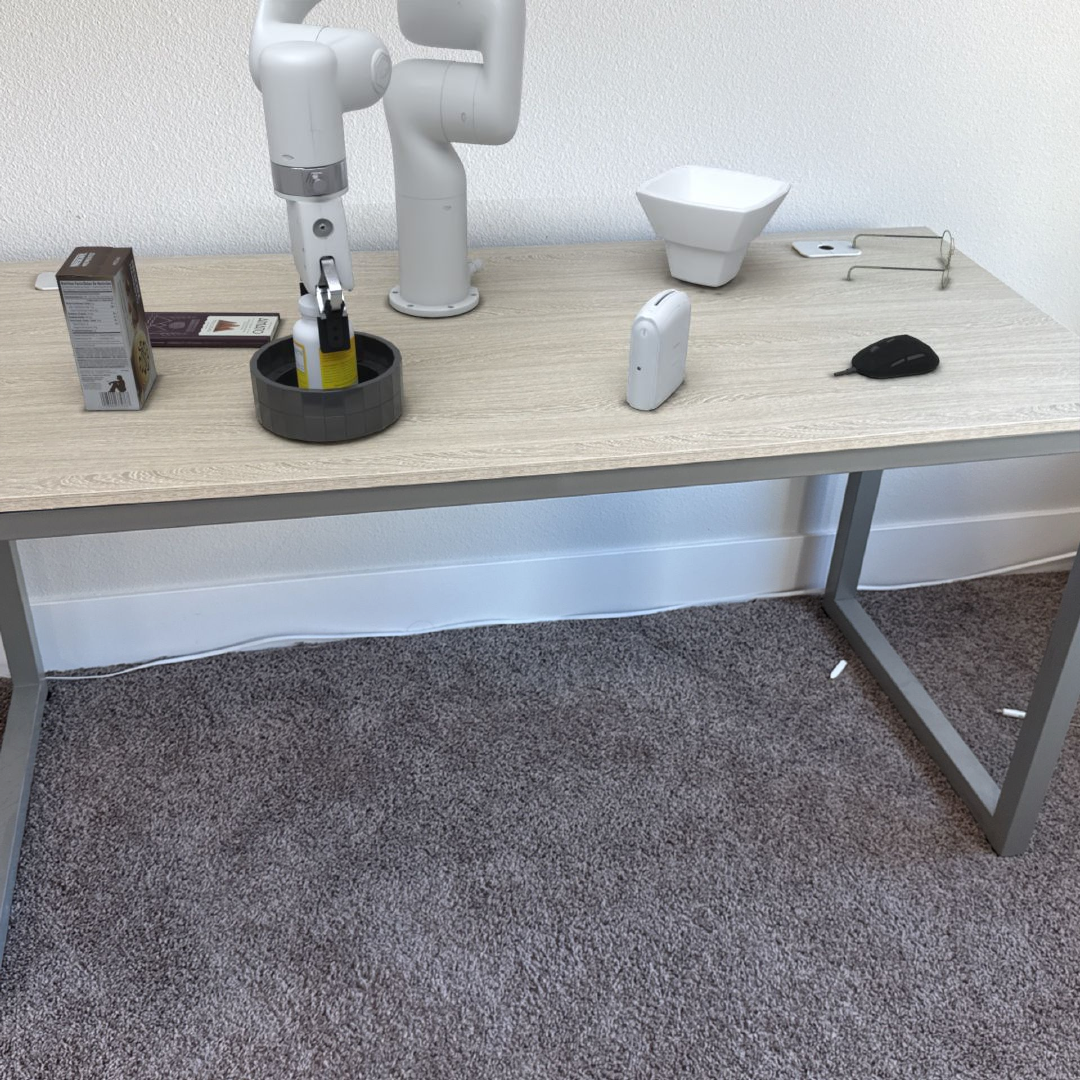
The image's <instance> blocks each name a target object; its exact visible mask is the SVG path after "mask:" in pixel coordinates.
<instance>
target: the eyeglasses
mask: <svg viewBox="0 0 1080 1080" xmlns="http://www.w3.org/2000/svg"><path fill="white" fill-rule="evenodd" d="M946 233H948V234H949V237H950V244H949V251H948V253H946V255H947V257H946V259H945V260H944V257H943V253H942V251H943V241H944V237H945V234H946ZM859 237H874V238H875V237H880V238H881V237H882V238H910V239H911V238H913V239H940V240H941V241H940V247H939V248H940V249H939V252H940V253H939V254H940V258H941V261H942V262H943V264H944V266H943V268H924V267H923V268H921V267H896V266H894V267H893V266H879V265H852V266H851V267H850V268H849V269H848V271H847V275H846V280H847V281H851V272H852V270H855V269H868V270H871V269H873V270H895V271H896V270H897V271H921V272H923V271H924V272H942V275H941V283H940V284H941V288H945V287H947V284H948V281H949V274H950V265H951V260H952V259H951V258H952V256H953V255H955V253H954V252H955V246H953V248H952V245H955V238H954V237H952V234H951V231H949V230H948V229H946V230H944V231H943V233H942V236H940V235H939V236H937V235H936V236H935V235H934V236H933V235H932V236H931V235H909V234H908V235H905V234H904V235H903V234H883V233H858V234H857V235H855V236H854V238H853V240H852V248H857V247H856V245H857V243H856V242H857V239H858V238H859ZM946 267H947V272H946ZM945 272H946V273H947V274H946V281H945V284H944V275H945Z"/></svg>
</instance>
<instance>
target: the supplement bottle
mask: <svg viewBox="0 0 1080 1080" xmlns="http://www.w3.org/2000/svg"><path fill="white" fill-rule="evenodd" d="M322 298H323V303H325V302H326V300H329V299H328V296H325V297H322ZM297 301H298V302H297V303H298V313H300V316H301V318H299V319H298V320H297V321H296V322H295V323H294V325H293V327H292V334H293V341H294V350H295V358H296V367H297V376H298V385H299V388H305V389H330V388H341V387H346V386H351V385H356V384H358V375H357V363H356V351H355V339H354V331H355V329H354V326H353V323H352V322H351V321H350V319H348V321H349V332H350V343H351V348H350V349H349V350H346V351H339V352H332V353H322V352H321V350H320V343H319V334H318V325H317V317H320V316H319V311H318V306H317V302H316V297H315V296H314V295H312V294H310V293H309V294H306V295H303V296H302V297H301V296H300V297H299V298H298V300H297ZM324 305H325V304H324ZM324 307H325V306H324Z"/></svg>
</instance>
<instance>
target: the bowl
mask: <svg viewBox="0 0 1080 1080" xmlns="http://www.w3.org/2000/svg"><path fill="white" fill-rule="evenodd" d="M791 188H792V184H791V183H790V182H789V181H786V180H781V179H777V178H774V177H771V176H766V175H762V174H757V173H751V172H747V171H742V170H737V169H736V170H735V169H729V168H721V167H716V166H707V165H697V164H689V163H687V164H685V165H684V164H683V165H680V166H677V167H672V168H670V169H668V170H665V171H664V172H661V173H659V174H657V175H655V176H653V177H651V178H649V179H647V180H645V181H643V182H642V183H640V185H639V186H638V187H637V188H636V189H635V196H636V198H637V200H638V202H639V204H640V205H641V208H642V210H643V212H644V214H645V216H646V218H647V220H648V222H649V224H650V226H651V228H652V231H653V233H654V234H655V237H657V238H660V239H663V240H664V246H665V252H666V256H667V261H668V265H669V270H670V276H671V277H672V278H675V279H677V280H680V281H684V282H686V283H687V282H688V283H691V284H697V285H702V286H707V287H714V288H718V287H721V286H723V285H726V284H727V283H728V282H730V281H731V280H733V279H734V278H736V277H737V275H738V273H739V272H740V269H741V267H742V264H743V261H744V260H745V256H746V254H747V253H748V250H749V247H750V245H751V242H753V241H754V240H755V239H757V238H759V237H760V235H761V234H762V232H763V231H764V230H765V228H766V227H767V225H769V222H770V221H771V219H772V218H773V216H774V215H775V213H776V212H777V210H778V209H779V207H780V206H781V205H782V203H783V202H784V200H785V199H786V197H787V195H788V194H789V192H790V190H791Z"/></svg>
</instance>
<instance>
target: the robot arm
mask: <svg viewBox="0 0 1080 1080" xmlns="http://www.w3.org/2000/svg"><path fill="white" fill-rule="evenodd" d="M322 1H323V0H258V3H257V7H256V11H255V15H254V18H253V19H254V20H253V23H252V27H251V28H252V29H251V33H250V40H249V47H248V66H249V72H250V76H251V79H252V82H253V83H254V85H255V87H256V89H257V90H258V91H259V92H260V93H261V98H262V106H263V114H264V122H265V130H266V137H267V139H266V140H267V147H268V153H269V163H270V164H269V165H270V169H271V170H270V172H271V179H272V180H271V181H272V188H273V193H274V195H275V196H276V197H278V198H280V199H283V200H285V205H286V213H287V215H286V216H287V222H288V224H287V225H288V231H289V232H288V233H289V240H290V246H291V247H290V248H291V252H292V259H293V262H294V266H295V270H296V272H297V273H298V276H299V280H300V282H299V283H298V284H299V290H300V292H299V293H300V297H302V296H303V295H306V294H309V293H310V294H312V295H314V296H315V297H316V302H317V306H318V311H319V316H320V317H317V325H318V334H319V343H320V350H321V352H322V353H332V352H339V351H346V350H349V349H350V348H351V343H350V332H349V321H350V320H349V314H348V310H347V305H346V300H345V296H344V291H347V292H352V291H353V290H354V288H355V286H356V285H355V278H354V277H355V276H354V271H353V270H354V269H353V262H352V253H351V247H350V246H351V245H350V238H349V231H348V224H347V218H346V212H345V206H344V203H343V198H342V196H344V195H345V194H347V193H348V192H349V190H350V189H349V176H348V165H347V163H348V162H347V153H346V152H347V151H346V142H345V141H346V140H345V129H344V118H343V115H344V113H349V112H355V111H361V110H364V109H369V108H370V107H372V106H374V105H375V104H377V103H378V102H380V100H381V99H382V105H383V112H384V114H385V115H384V116H385V120H386V125H387V129H388V134H389V140H390V145H391V153H392V163H393V175H394V179H393V180H394V195H395V196H394V199H395V217H396V219H395V220H396V237H397V238H396V239H397V240H396V241H397V258H398V280H399V284H397V285H395V286H394V287H393V288H392V289H391V290H390V291H389V293H388V296H389V297H388V301H389V304H390V306H391V307H392V308H393V309H394V310H396V311H397V312H401V313H402V314H406V315H409V316H415V317H422V318H445V317H446V318H447V317H452V316H458V315H461V314H465V313H468V312H469V311H472V310H473V309H474V308H476V307H477V306H478V304H479V303H480V293H479V290H478V289H477V288H476V287H475V286H474V285H472V284H471V279H472V278H473V276H475V275H476V274H478V273H480V272H482V271H483V270H484V268H485V265H484V262H483V260H482V259H481V258H477V257H476V258H474V259H471V260H469V261H468V258H469V257H468V183H467V182H468V181H467V180H468V179H467V173H466V170H465V167H464V164H463V161H462V159H461V157H460V156H459V153H458V152H457V151H456V148H454V146H453V144H452V143H456V144H468V145H469V144H470V145H478V146H503V145H507V144H508V143H510V142H511V140H513V138H514V137H515V135H516V133H517V130H518V126H519V123H520V117H521V108H522V94H523V80H524V79H523V78H524V77H523V76H524V62H525V60H524V59H525V47H526V45H525V44H526V28H527V4H526V0H396V3H397V4H396V12H397V22H398V26H399V31H400V33H401V35H402V36H403V37H404V39H405V40H407V41H408V42H410V43H412V44H414V45H418V46H421V47H428V48H435V49H447V50H449V49H450V50H460V51H461V50H462V51H476V52H479V53H480V54H481V57H482V62H483V63H480V62H469V61H456V60H447V59H436V58H411V59H405V60H401V61H400V62H397V63H395V64H394V65H392V64H393V63H392V58H391V54H390V52H389V50H388V47H387V45H386V44H385V42H384V41H383V40H382V39H381V38H380V37H378V35H376V34H374V33H372V32H371V31H367V30H365V29H360V28H351V27H339V26H338V27H337V26H329V25H318V24H306V23H305V24H304V23H303V22H304V20H305V18H307V16H308V14H309V13H310V12H311V11H312V10H313V9H314V8H315V7H316V6H317V5H318V4H320V3H321V2H322ZM343 289H344V291H343ZM325 296H328V299H329V300H326V302H325V303H323V298H322V297H325ZM324 304H325V305H324ZM324 306H325V307H324ZM348 320H349V321H348Z"/></svg>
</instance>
